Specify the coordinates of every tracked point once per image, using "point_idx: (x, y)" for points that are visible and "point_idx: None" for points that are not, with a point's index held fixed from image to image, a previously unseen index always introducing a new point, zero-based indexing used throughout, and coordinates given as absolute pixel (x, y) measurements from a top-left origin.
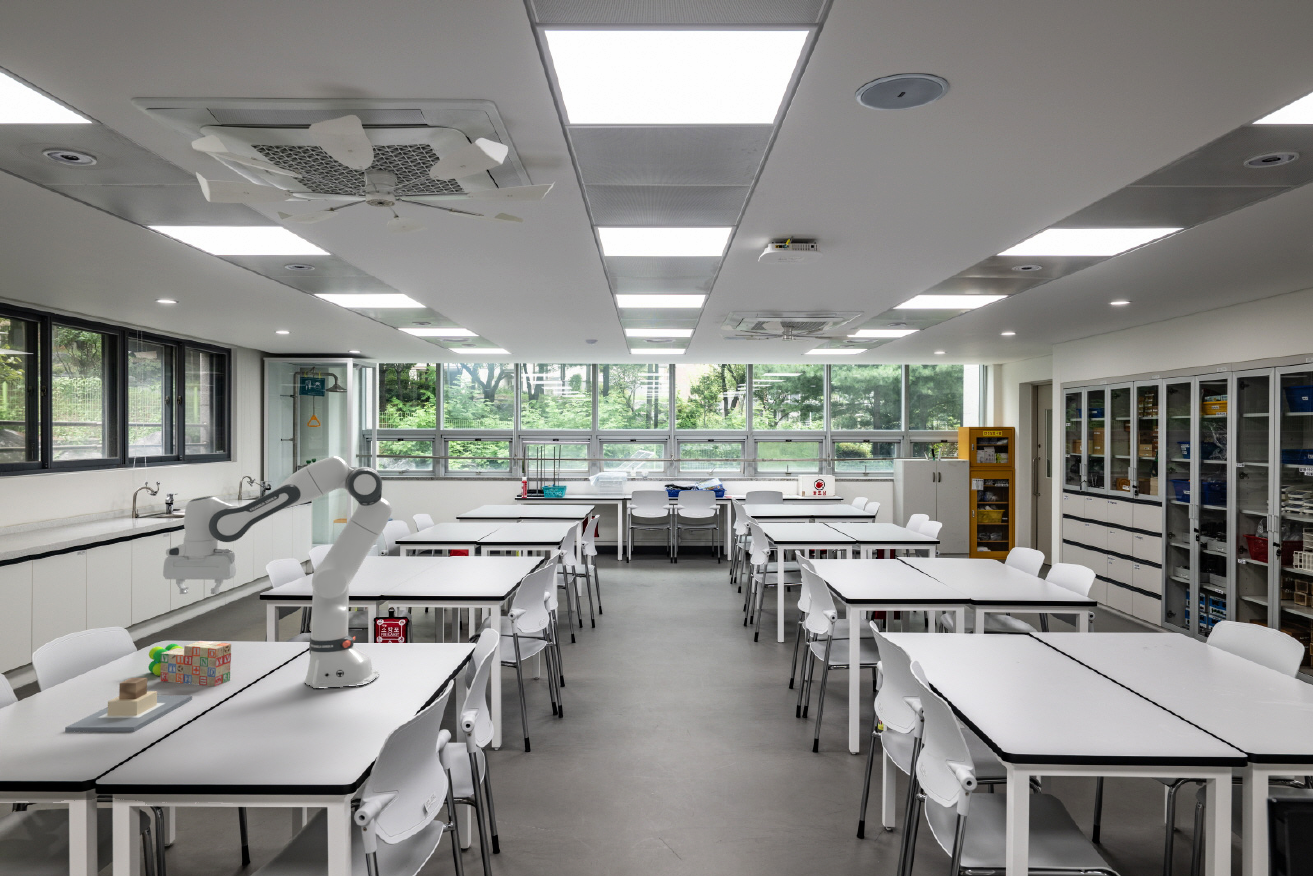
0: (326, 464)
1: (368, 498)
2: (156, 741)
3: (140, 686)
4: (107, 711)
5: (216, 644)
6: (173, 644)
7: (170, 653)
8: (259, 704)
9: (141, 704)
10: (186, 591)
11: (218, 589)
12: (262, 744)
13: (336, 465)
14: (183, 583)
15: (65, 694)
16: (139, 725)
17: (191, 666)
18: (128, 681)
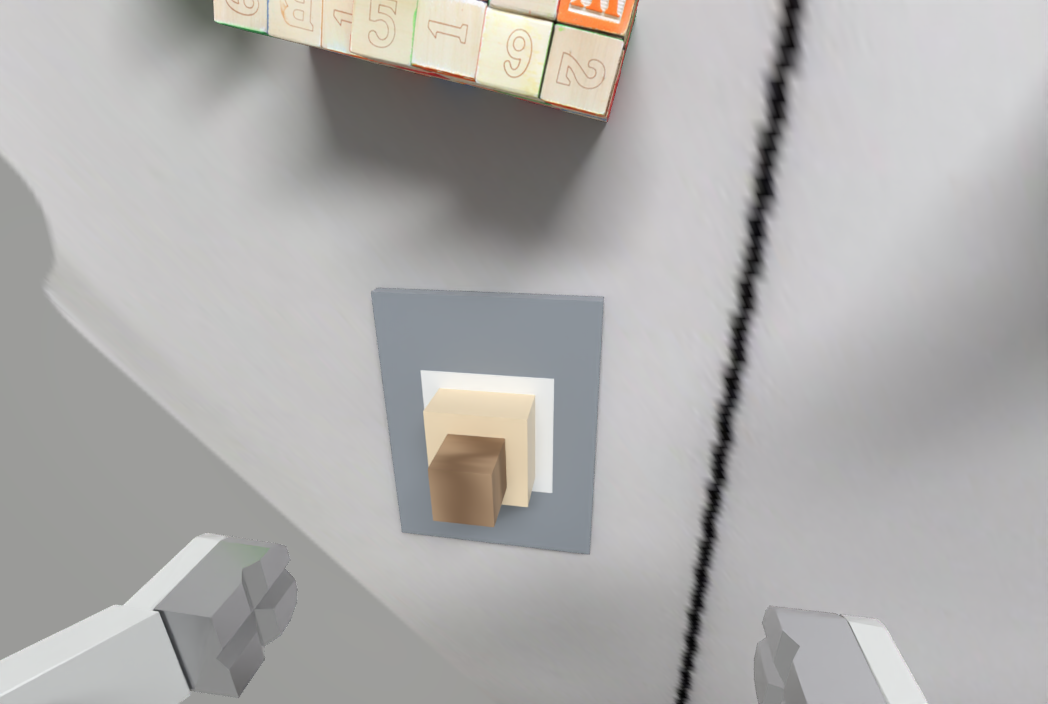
0: None
1: None
2: (694, 607)
3: (497, 491)
4: (416, 434)
5: (552, 5)
6: None
7: (272, 26)
8: (916, 364)
9: (530, 478)
10: (268, 594)
11: (910, 699)
12: (1023, 668)
13: None
14: (36, 682)
15: (110, 221)
16: (590, 535)
17: (450, 79)
18: (450, 506)
